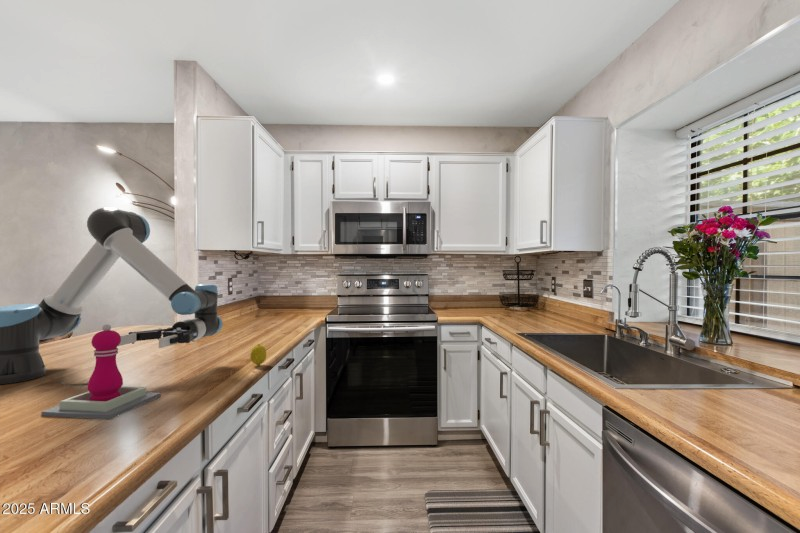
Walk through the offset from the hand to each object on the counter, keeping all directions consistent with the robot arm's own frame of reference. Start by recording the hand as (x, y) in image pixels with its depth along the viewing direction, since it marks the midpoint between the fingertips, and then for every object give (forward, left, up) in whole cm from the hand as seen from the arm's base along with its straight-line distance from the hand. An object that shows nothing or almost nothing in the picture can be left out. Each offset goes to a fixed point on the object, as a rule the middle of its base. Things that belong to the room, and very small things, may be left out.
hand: (138, 342), depth 106 cm
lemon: (+20, +33, -15) cm, 41 cm away
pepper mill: (0, -10, -14) cm, 17 cm away
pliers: (-20, +8, -15) cm, 26 cm away
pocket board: (0, -10, -14) cm, 18 cm away
